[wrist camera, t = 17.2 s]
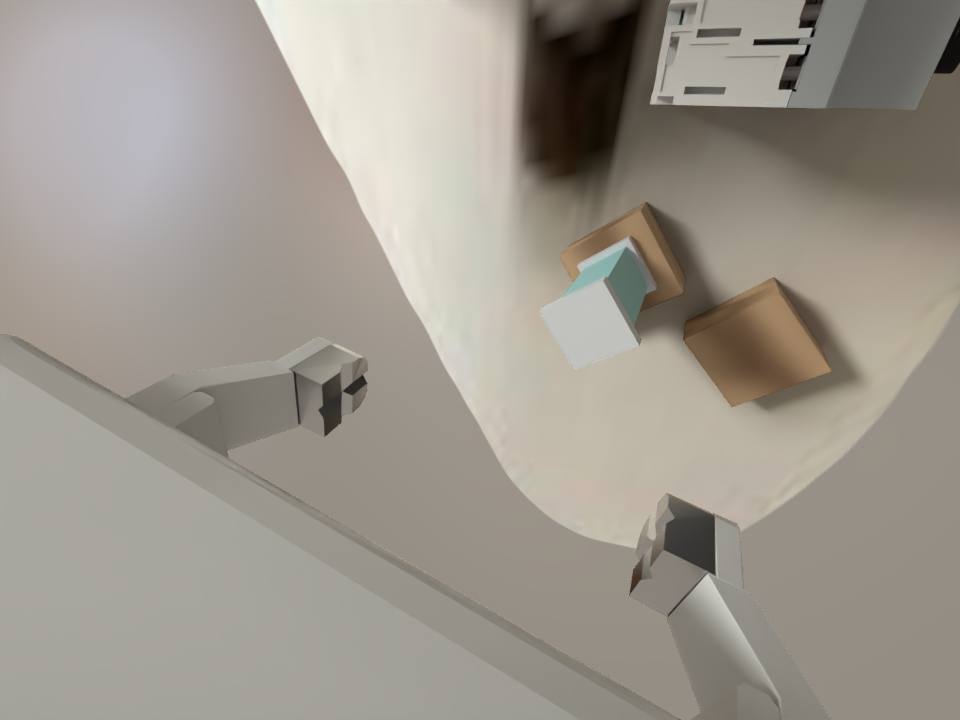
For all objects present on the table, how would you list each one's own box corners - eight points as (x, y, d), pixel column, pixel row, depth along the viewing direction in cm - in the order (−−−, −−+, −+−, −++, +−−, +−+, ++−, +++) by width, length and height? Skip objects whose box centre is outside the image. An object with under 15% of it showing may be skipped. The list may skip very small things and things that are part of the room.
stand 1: (607, 312, 45) (599, 328, 42) (569, 245, 43) (558, 256, 40) (685, 278, 40) (683, 293, 37) (646, 201, 39) (640, 210, 36)
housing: (605, 308, 41) (573, 370, 31) (579, 262, 40) (538, 312, 30) (657, 285, 38) (639, 346, 28) (630, 235, 37) (603, 280, 27)
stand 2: (730, 385, 43) (731, 407, 40) (685, 322, 42) (683, 339, 39) (822, 349, 38) (831, 371, 35) (773, 277, 37) (779, 293, 34)
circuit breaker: (887, 108, 30) (1001, 112, 18) (667, 103, 35) (645, 104, 23) (950, -37, 26) (1149, -152, 14) (693, -19, 31) (682, -93, 19)
